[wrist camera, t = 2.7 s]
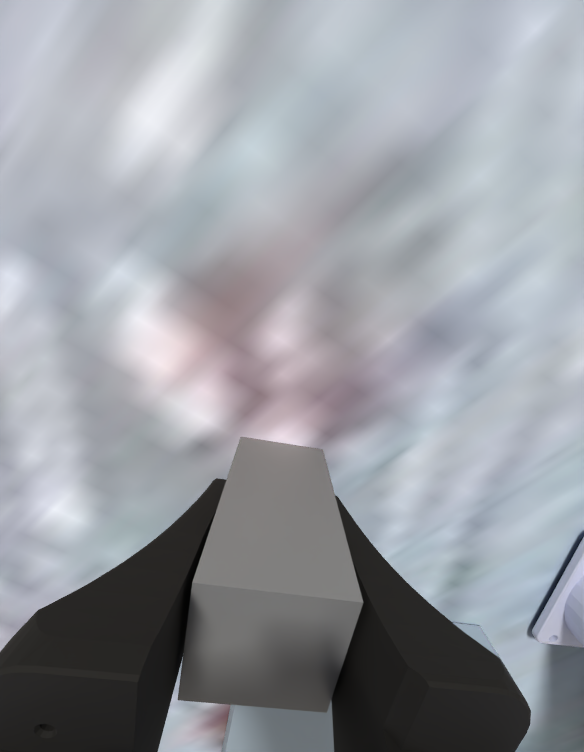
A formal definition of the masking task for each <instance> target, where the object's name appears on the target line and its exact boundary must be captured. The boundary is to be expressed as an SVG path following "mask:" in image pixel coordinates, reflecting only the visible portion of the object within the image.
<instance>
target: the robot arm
mask: <svg viewBox="0 0 584 752" xmlns="http://www.w3.org/2000/svg"><path fill="white" fill-rule="evenodd" d="M225 483H226V480H224V479H215V480H214V481H213V482H212V483H211V485H210V486H209V487H208V488H207V490H206V491H205V492H204V493H203V494H202V495H201V496H200V497H199V499H198V500H197V501H196V502H195V503H194V504H193V505H192V506H191V507H190V508H189V509H188V510H187V511H186V512H185V513H184V514H183V515H182V516H181V517H180V518H179V519H178V520H176V521H175V522H174V523H173V524H172V525H171V526H170V527H169V528H168V529H166V530H165V531H164V532H163V533H162V534H161V535H159V536H158V537H157V538H156V539H154V540H153V541H152V542H151V543H149V544H148V545H147V546H145V547H144V548H143V549H141V550H140V551H138V552H137V553H136V554H134V555H133V556H132V557H130V558H129V559H127V560H126V561H124V562H123V563H121V564H120V565H118V566H117V567H115V568H113V569H112V570H110V571H109V572H107V573H105V574H104V575H102V576H100V577H99V578H97V579H96V580H94V581H92V582H91V583H89V584H87V585H86V586H84V587H82V588H80V589H78V590H76V591H75V592H73V593H71V594H69V595H67V596H65V597H63V598H61V599H59V600H57V601H55V602H53V603H52V604H50V605H48V606H46V607H44V608H42V609H39V610H38V611H37V612H36V613H35V614H34V615H33V616H32V617H31V618H30V619H29V621H28V622H27V623H26V624H25V625H24V626H23V627H22V628H21V629H20V630H19V631H18V632H17V633H16V634H15V635H14V636H13V637H12V639H11V640H10V641H9V642H8V643H7V644H6V646H5V647H4V648H3V649H2V650H1V652H0V752H157V751H158V748H159V744H160V740H161V736H162V732H163V728H164V725H165V721H166V717H167V713H168V709H169V706H170V702H171V698H172V694H173V690H174V687H175V683H176V679H177V676H178V672H179V668H180V664H181V661H182V657H183V653H184V646H185V637H186V629H187V621H188V613H189V605H190V597H191V589H192V582H193V579H194V576H195V573H196V570H197V567H198V564H199V561H200V558H201V555H202V552H203V549H204V546H205V543H206V540H207V537H208V534H209V531H210V528H211V525H212V522H213V519H214V516H215V513H216V510H217V507H218V504H219V501H220V498H221V495H222V492H223V489H224V486H225ZM335 498H336V501H337V505H338V509H339V513H340V516H341V520H342V524H343V528H344V531H345V535H346V539H347V543H348V547H349V550H350V554H351V558H352V562H353V565H354V569H355V573H356V577H357V581H358V584H359V588H360V592H361V596H362V599H363V605H362V608H361V611H360V614H359V617H358V620H357V623H356V626H355V629H354V632H353V635H352V638H351V641H350V644H349V647H348V650H347V653H346V656H345V659H344V662H343V665H342V668H341V671H340V674H339V677H338V680H337V683H336V686H335V689H334V692H333V695H332V698H331V702H332V720H333V739H334V752H515V751H516V749H517V747H518V746H519V744H520V743H521V741H522V739H523V738H524V736H525V735H526V733H527V730H528V728H529V726H530V716H531V710H530V708H529V706H528V703H527V701H526V700H525V698H524V697H523V695H522V693H521V692H520V690H519V688H518V687H517V685H516V683H515V682H514V680H513V679H512V677H511V675H510V674H509V672H508V670H507V669H506V667H505V666H504V664H503V662H502V661H501V659H500V658H499V657H498V656H496V655H495V654H493V653H492V652H491V651H489V650H488V649H487V648H485V647H484V646H483V645H481V644H480V643H478V642H477V641H476V640H474V639H473V638H472V637H470V636H469V635H467V634H466V633H465V632H463V631H462V630H461V629H460V628H458V627H457V626H456V625H455V624H453V623H452V622H451V621H450V620H448V619H447V618H446V617H445V616H444V615H442V614H441V613H440V612H439V611H438V610H436V609H435V608H434V607H433V606H432V605H431V604H429V603H428V602H427V601H426V600H425V599H424V598H423V597H422V596H421V595H420V594H418V593H417V592H416V591H415V590H414V589H413V588H412V587H411V586H410V585H409V584H408V583H407V582H406V581H405V580H404V579H403V578H402V577H401V576H400V575H399V574H398V573H397V572H396V571H395V570H394V569H393V568H392V567H391V566H390V565H389V563H388V562H387V561H386V560H385V559H384V558H383V557H382V556H381V554H380V553H379V552H378V551H377V550H376V548H375V547H374V546H373V545H372V544H371V542H370V541H369V540H368V538H367V537H366V536H365V535H364V533H363V532H362V531H361V529H360V528H359V527H358V525H357V524H356V523H355V521H354V520H353V518H352V517H351V515H350V514H349V513H348V511H347V510H346V508H345V507H344V505H343V504H342V502H341V501H340V500H339V498H338V497H337V496H335ZM532 634H533V636H534V637H535V638H536V640H537V641H538V642H541V643H546V644H555V645H564V646H573V647H582V648H584V537H583V539H582V541H581V543H580V544H579V546H578V548H577V550H576V552H575V553H574V555H573V557H572V559H571V561H570V562H569V564H568V566H567V568H566V570H565V571H564V573H563V575H562V577H561V579H560V581H559V582H558V584H557V586H556V588H555V590H554V591H553V593H552V595H551V597H550V599H549V600H548V602H547V604H546V606H545V608H544V609H543V611H542V613H541V615H540V617H539V619H538V620H537V622H536V624H535V626H534V628H533V630H532Z"/></svg>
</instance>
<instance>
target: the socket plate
mask: <svg viewBox="0 0 584 752" xmlns="http://www.w3.org/2000/svg"><path fill="white" fill-rule="evenodd" d="M453 624H455V625H456V626H457V627H458V628H460V629H461V630H462V631H463V632H465V633H466V634H467V635H469V636H470V637H472V638H473V639H474V640H476V641H477V642H478V643H480V644H481V645H483V646H484V647H485V648H487V649H488V650H489V651H491V652H492V653H493V654H495V655H496V656H498V654H497V652H496V651H495V649H494V647H493V646H492V644H491V642H490V641H489V639H488V638H487V636H486V634H485V633H484V631H483V629H482V628H481V626H477V625H468V624H459V623H453ZM498 657H499V656H498ZM499 658H500V657H499ZM501 661H502V660H501ZM504 666H505V665H504ZM512 679H513V678H512ZM222 752H334V739H333V720H332V702H331V701H330V705H329V708H328V711H327V713H323V712H312V711H300V710H288V709H277V708H265V707H253V706H242V705H231V706H230V711H229V716H228V722H227V727H226V732H225V737H224V742H223V747H222Z"/></svg>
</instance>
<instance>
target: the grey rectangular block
mask: <svg viewBox="0 0 584 752" xmlns="http://www.w3.org/2000/svg"><path fill="white" fill-rule="evenodd" d="M362 605H363V599H362V596H361V592H360V588H359V584H358V581H357V577H356V573H355V569H354V565H353V562H352V558H351V554H350V550H349V547H348V543H347V539H346V535H345V531H344V528H343V524H342V520H341V516H340V513H339V509H338V505H337V501H336V498H335V494H334V490H333V486H332V482H331V479H330V475H329V471H328V467H327V464H326V460H325V456H324V452H323V450H322V449H316V448H309V447H303V446H296V445H290V444H284V443H277V442H271V441H265V440H258V439H252V438H245V437H241V438H240V441H239V444H238V447H237V450H236V453H235V456H234V459H233V462H232V465H231V468H230V471H229V474H228V477H227V480H226V483H225V486H224V489H223V492H222V495H221V498H220V501H219V504H218V507H217V510H216V513H215V516H214V519H213V522H212V525H211V528H210V531H209V534H208V537H207V540H206V543H205V546H204V549H203V552H202V555H201V558H200V561H199V564H198V567H197V570H196V573H195V576H194V579H193V582H192V589H191V597H190V605H189V613H188V621H187V629H186V637H185V646H184V654H183V662H182V670H181V678H180V686H179V694H178V700H183V701H195V702H206V703H218V704H230V705H242V706H253V707H265V708H277V709H288V710H300V711H312V712H323V713H327V711H328V708H329V705H330V701H331V698H332V695H333V692H334V689H335V686H336V683H337V680H338V677H339V674H340V671H341V668H342V665H343V662H344V659H345V656H346V653H347V650H348V647H349V644H350V641H351V638H352V635H353V632H354V629H355V626H356V623H357V620H358V617H359V614H360V611H361V608H362Z"/></svg>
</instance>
